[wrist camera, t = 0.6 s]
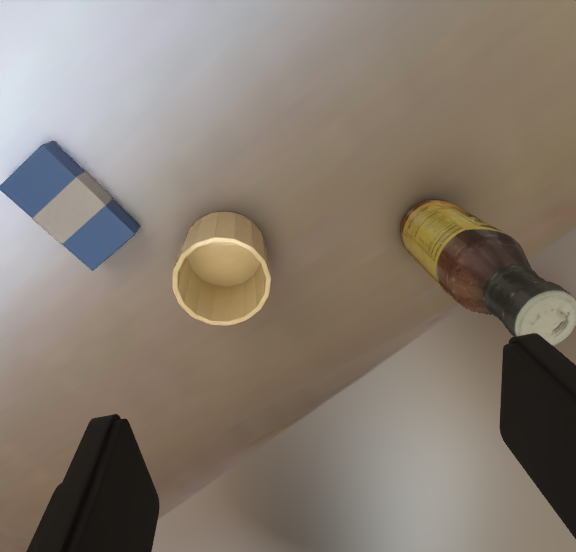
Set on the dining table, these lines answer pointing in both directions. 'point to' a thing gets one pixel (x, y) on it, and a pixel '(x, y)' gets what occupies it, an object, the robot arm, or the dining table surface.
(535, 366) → the robot arm
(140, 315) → the dining table surface
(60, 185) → the block
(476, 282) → the sauce bottle
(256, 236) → the beige cup
